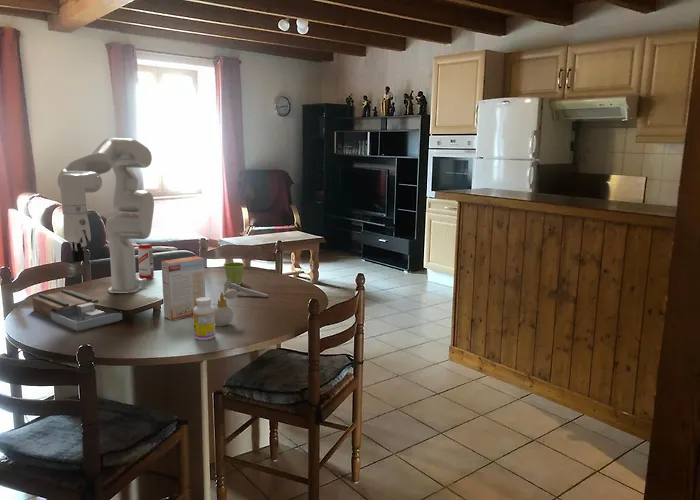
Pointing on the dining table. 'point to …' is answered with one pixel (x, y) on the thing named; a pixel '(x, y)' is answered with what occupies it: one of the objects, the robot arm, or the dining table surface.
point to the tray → (72, 322)
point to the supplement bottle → (204, 319)
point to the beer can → (145, 261)
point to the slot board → (59, 301)
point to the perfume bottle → (224, 308)
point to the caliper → (240, 289)
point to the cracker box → (182, 286)
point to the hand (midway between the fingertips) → (78, 261)
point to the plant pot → (234, 271)
